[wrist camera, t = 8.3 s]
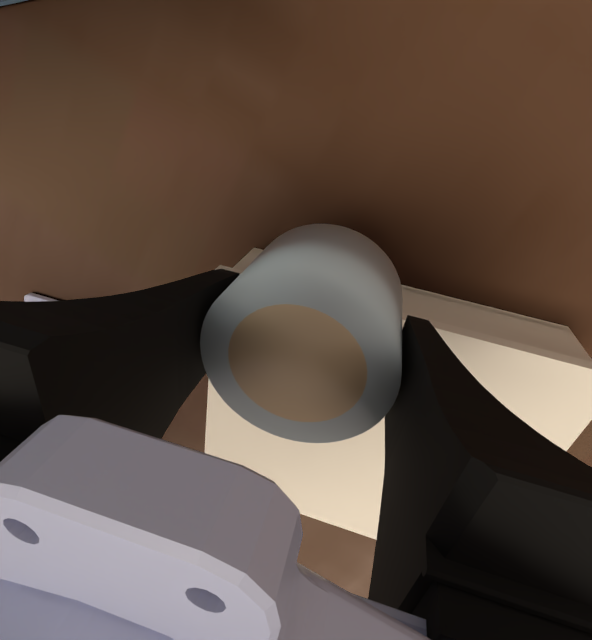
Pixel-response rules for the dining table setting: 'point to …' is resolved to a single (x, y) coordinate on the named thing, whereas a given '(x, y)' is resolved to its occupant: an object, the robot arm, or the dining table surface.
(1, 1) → the gum box
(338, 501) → the lid
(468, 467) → the robot arm
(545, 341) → the box
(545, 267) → the dining table surface
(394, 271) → the white cylinder
